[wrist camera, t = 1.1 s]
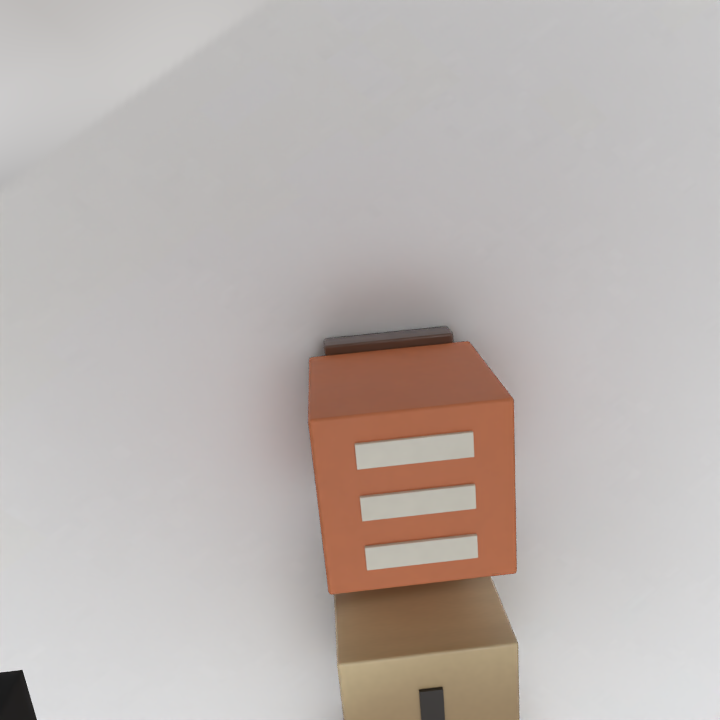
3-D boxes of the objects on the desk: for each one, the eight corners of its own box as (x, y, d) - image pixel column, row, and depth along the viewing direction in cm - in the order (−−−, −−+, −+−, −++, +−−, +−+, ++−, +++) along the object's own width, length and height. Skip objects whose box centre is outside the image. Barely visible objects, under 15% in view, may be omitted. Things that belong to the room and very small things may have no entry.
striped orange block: (308, 356, 19) (307, 422, 15) (469, 340, 19) (516, 399, 15) (325, 499, 20) (328, 598, 16) (474, 483, 21) (518, 577, 16)
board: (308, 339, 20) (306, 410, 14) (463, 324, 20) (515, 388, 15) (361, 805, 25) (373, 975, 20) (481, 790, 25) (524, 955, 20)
